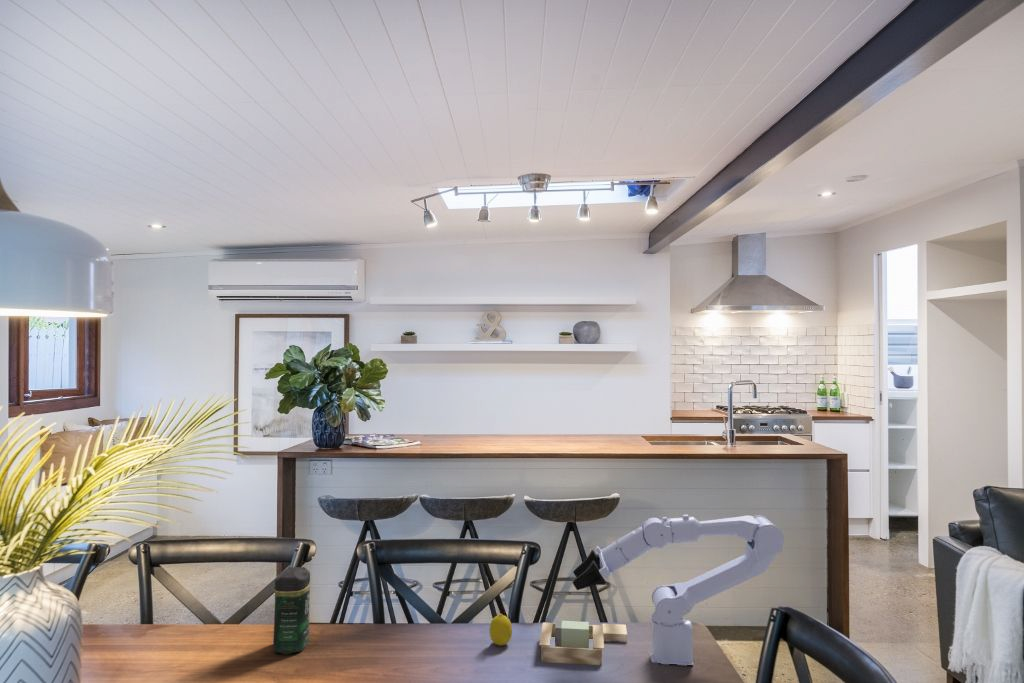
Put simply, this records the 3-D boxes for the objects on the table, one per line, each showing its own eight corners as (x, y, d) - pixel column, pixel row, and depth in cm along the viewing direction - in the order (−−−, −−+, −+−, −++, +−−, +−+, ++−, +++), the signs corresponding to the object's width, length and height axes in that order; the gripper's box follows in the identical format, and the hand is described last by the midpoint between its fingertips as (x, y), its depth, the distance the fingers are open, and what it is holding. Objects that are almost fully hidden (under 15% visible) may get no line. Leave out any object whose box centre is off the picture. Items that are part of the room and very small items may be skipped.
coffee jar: (303, 655, 157) (304, 576, 157) (269, 655, 156) (270, 577, 157) (313, 637, 166) (313, 563, 167) (281, 638, 166) (281, 564, 166)
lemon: (502, 654, 158) (502, 620, 158) (484, 647, 161) (485, 614, 161) (516, 646, 162) (516, 613, 162) (498, 640, 165) (499, 608, 166)
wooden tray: (602, 641, 165) (602, 624, 165) (604, 667, 151) (604, 649, 151) (543, 638, 166) (543, 621, 166) (538, 664, 152) (538, 645, 152)
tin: (588, 646, 160) (588, 621, 160) (588, 655, 156) (588, 629, 156) (555, 645, 161) (556, 620, 161) (555, 653, 157) (555, 627, 157)
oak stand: (625, 634, 169) (625, 624, 169) (627, 644, 163) (627, 634, 163) (602, 633, 170) (602, 623, 170) (602, 643, 164) (602, 633, 164)
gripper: (612, 529, 165) (567, 557, 166) (614, 545, 151) (565, 576, 152) (627, 553, 165) (582, 581, 166) (631, 572, 150) (581, 602, 151)
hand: (575, 580), depth 159 cm, fingers open, 7 cm apart
